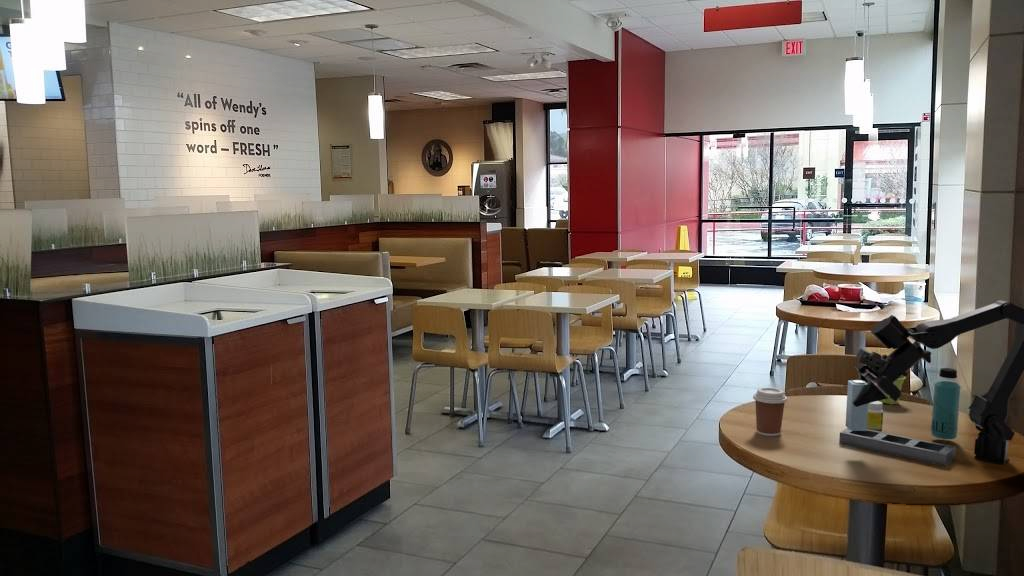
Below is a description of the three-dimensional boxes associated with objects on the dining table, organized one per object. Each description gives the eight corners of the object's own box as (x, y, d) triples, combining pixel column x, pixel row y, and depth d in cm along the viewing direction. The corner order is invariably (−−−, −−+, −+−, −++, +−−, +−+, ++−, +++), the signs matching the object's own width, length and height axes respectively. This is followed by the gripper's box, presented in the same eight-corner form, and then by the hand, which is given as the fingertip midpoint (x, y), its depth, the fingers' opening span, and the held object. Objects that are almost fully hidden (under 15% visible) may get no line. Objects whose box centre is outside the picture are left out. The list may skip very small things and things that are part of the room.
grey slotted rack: (954, 458, 207) (955, 446, 207) (945, 466, 201) (946, 454, 201) (850, 436, 224) (850, 425, 224) (839, 443, 218) (839, 432, 218)
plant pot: (865, 398, 263) (866, 372, 262) (891, 397, 265) (893, 371, 263) (883, 406, 254) (885, 379, 253) (910, 405, 256) (912, 378, 254)
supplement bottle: (883, 434, 226) (885, 405, 225) (865, 433, 227) (867, 404, 226) (879, 429, 231) (881, 400, 230) (861, 428, 232) (863, 399, 230)
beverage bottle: (957, 439, 222) (963, 367, 219) (956, 446, 216) (962, 372, 213) (930, 436, 225) (935, 364, 222) (928, 442, 219) (934, 369, 217)
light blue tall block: (861, 426, 211) (864, 379, 209) (866, 430, 207) (869, 383, 205) (845, 425, 211) (848, 379, 210) (850, 430, 207) (852, 383, 206)
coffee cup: (765, 425, 234) (767, 384, 232) (792, 433, 226) (794, 391, 225) (744, 431, 228) (746, 389, 227) (771, 439, 221) (773, 396, 219)
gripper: (865, 332, 215) (819, 372, 217) (890, 346, 196) (840, 390, 199) (894, 362, 215) (849, 401, 218) (922, 379, 197) (872, 422, 199)
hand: (851, 403), depth 208 cm, fingers closed on light blue tall block, 4 cm apart
